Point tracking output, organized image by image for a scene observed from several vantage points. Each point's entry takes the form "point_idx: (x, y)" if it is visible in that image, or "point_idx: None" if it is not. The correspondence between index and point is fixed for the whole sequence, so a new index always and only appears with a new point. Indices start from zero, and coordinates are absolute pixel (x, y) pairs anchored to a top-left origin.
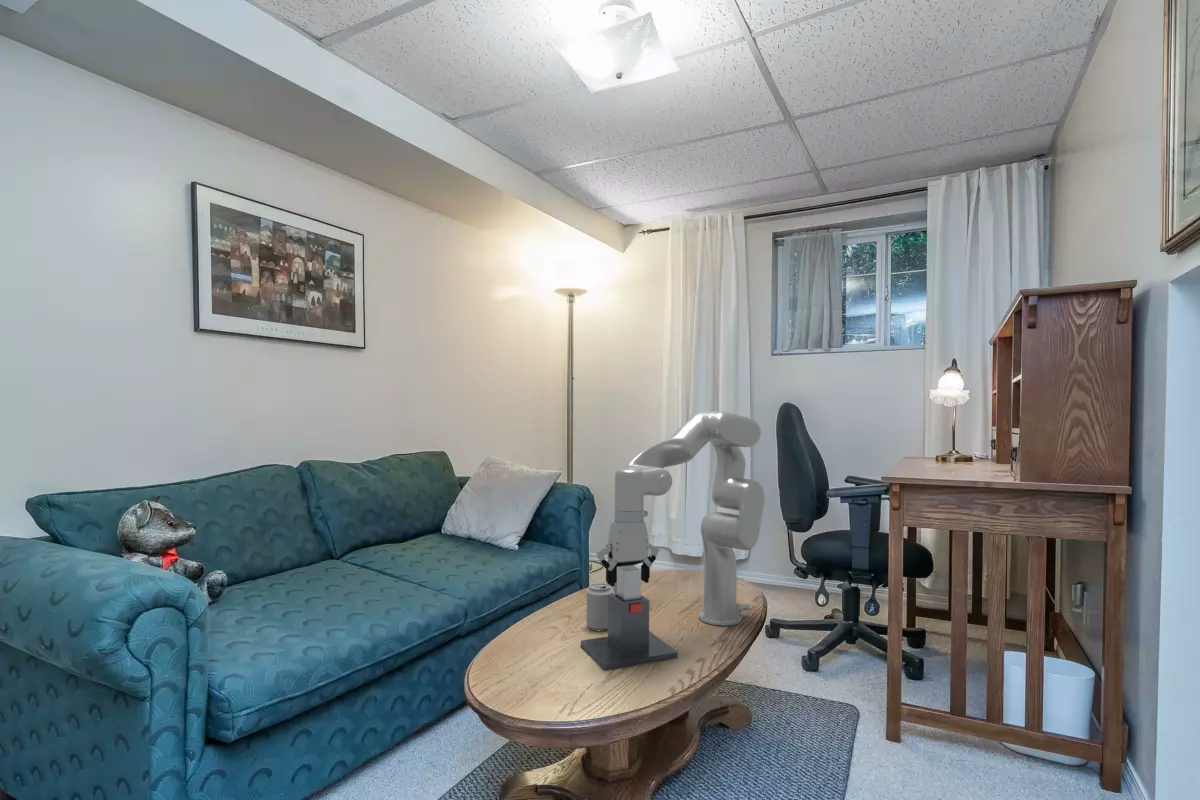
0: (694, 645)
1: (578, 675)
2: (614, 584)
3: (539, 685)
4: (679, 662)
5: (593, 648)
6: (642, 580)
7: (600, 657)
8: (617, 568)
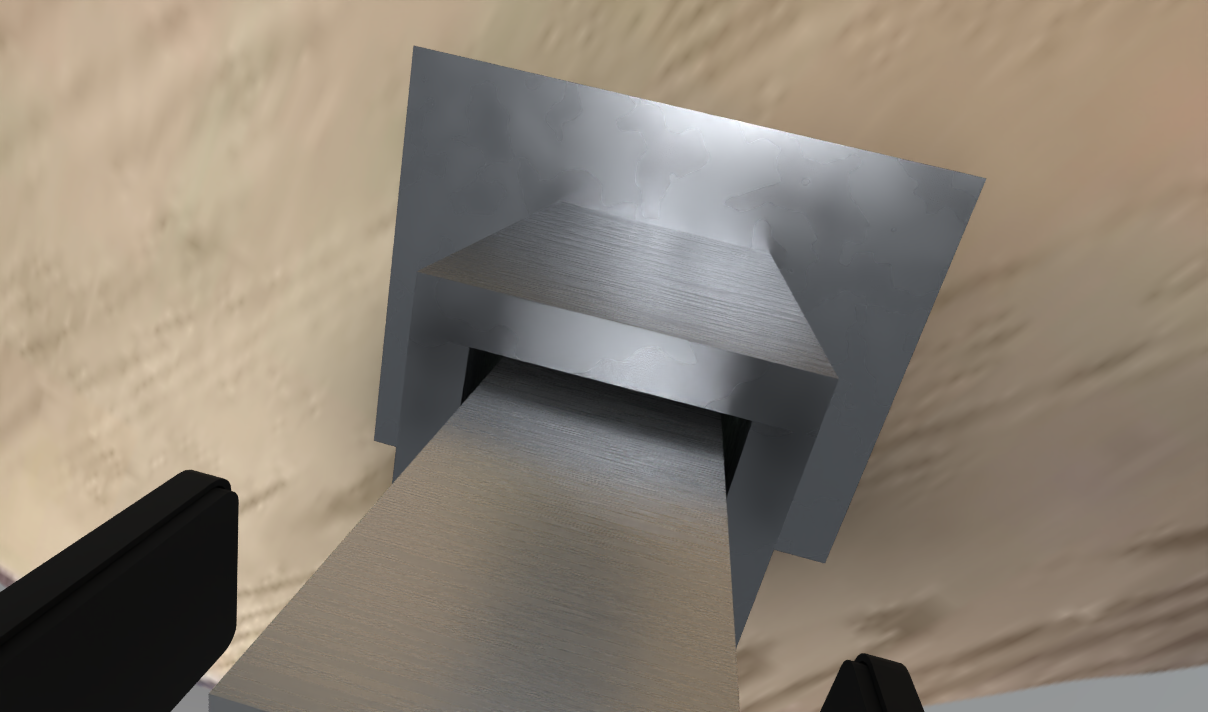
0: (1065, 486)
1: (255, 387)
2: (217, 658)
3: (62, 363)
4: (781, 578)
5: (424, 224)
6: (826, 703)
7: (397, 358)
8: (237, 692)
